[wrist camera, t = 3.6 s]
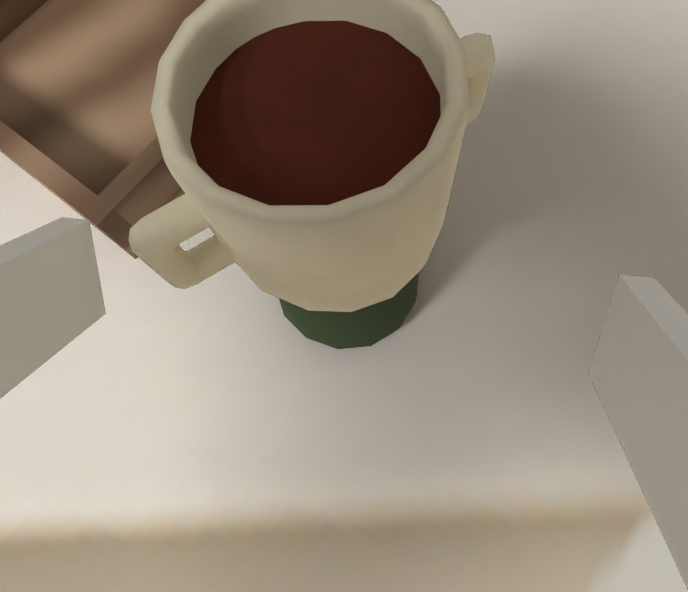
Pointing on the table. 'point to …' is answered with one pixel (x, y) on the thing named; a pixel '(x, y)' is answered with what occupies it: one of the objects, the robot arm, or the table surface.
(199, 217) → the character mug
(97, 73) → the walnut tray
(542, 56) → the table surface
